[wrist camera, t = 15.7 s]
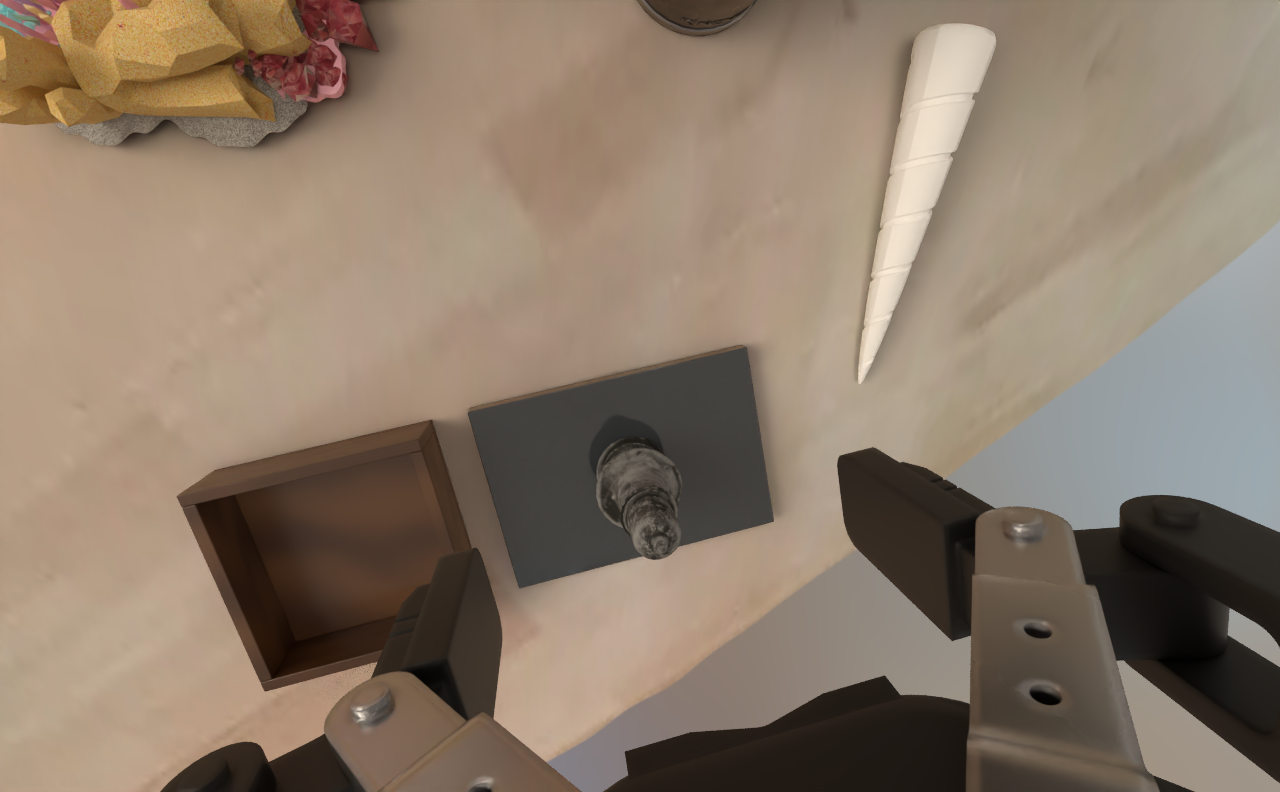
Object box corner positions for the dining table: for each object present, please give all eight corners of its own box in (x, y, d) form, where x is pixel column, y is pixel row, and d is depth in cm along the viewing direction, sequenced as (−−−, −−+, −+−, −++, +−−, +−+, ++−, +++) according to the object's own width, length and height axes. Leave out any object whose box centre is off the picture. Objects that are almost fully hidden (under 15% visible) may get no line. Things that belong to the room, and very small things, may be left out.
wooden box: (214, 470, 40) (175, 496, 36) (431, 419, 42) (418, 438, 37) (291, 649, 44) (264, 692, 40) (487, 598, 45) (481, 634, 41)
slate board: (469, 407, 42) (467, 412, 41) (741, 344, 44) (747, 347, 42) (519, 580, 45) (519, 588, 44) (768, 515, 47) (774, 521, 46)
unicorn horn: (810, 374, 45) (841, 388, 40) (903, 33, 40) (949, 4, 35) (867, 384, 46) (903, 399, 41) (964, 52, 41) (1017, 27, 36)
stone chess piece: (685, 449, 44) (734, 521, 32) (652, 519, 45) (688, 613, 33) (611, 420, 42) (635, 484, 31) (579, 493, 43) (590, 581, 32)
